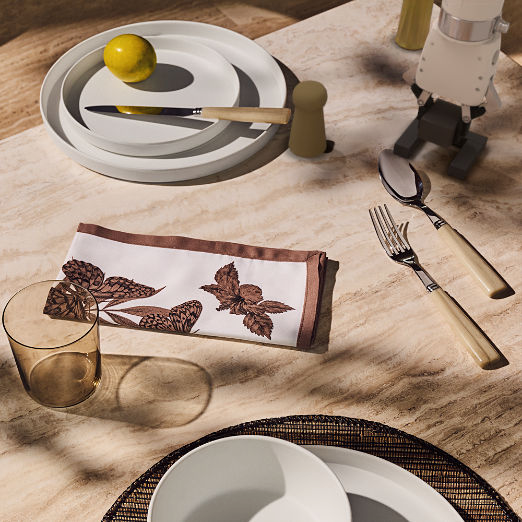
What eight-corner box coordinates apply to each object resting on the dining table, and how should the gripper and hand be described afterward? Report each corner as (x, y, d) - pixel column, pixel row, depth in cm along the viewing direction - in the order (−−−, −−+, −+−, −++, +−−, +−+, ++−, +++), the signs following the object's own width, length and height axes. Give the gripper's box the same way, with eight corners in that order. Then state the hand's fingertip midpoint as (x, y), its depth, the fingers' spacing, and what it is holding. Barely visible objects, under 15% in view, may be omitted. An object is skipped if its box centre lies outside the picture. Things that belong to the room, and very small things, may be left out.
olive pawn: (309, 162, 105) (313, 104, 97) (280, 146, 108) (281, 87, 99) (334, 144, 108) (339, 85, 99) (305, 127, 111) (307, 69, 102)
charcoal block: (463, 127, 103) (468, 108, 101) (447, 149, 100) (452, 130, 97) (433, 116, 105) (437, 97, 103) (416, 137, 102) (420, 118, 99)
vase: (409, 28, 130) (421, -46, 119) (434, 41, 127) (450, -34, 116) (388, 40, 127) (398, -34, 116) (414, 54, 124) (427, -22, 113)
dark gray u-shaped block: (485, 147, 107) (488, 137, 105) (462, 180, 102) (465, 170, 100) (417, 122, 111) (419, 112, 110) (392, 153, 106) (394, 143, 105)
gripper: (541, 26, 88) (504, 137, 101) (420, -10, 94) (400, 99, 108) (521, 53, 84) (485, 165, 97) (396, 14, 90) (378, 124, 104)
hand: (441, 130), depth 102 cm, fingers closed on charcoal block, 5 cm apart
